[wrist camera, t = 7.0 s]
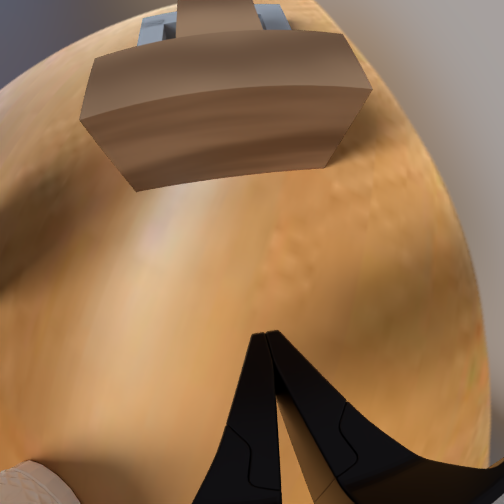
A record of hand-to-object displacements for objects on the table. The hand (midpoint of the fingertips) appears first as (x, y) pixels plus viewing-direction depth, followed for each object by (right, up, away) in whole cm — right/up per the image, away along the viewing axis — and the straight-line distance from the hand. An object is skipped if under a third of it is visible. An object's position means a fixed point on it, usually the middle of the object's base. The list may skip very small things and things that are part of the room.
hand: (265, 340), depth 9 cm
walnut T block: (-3, +13, +10) cm, 16 cm away
